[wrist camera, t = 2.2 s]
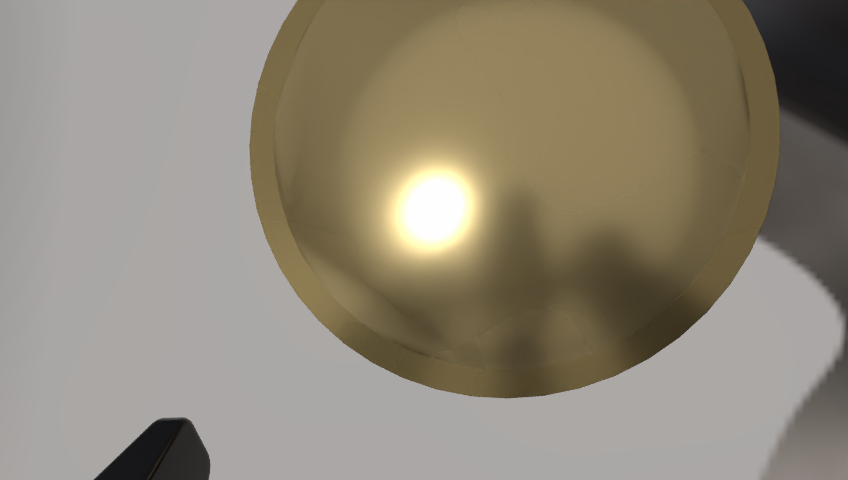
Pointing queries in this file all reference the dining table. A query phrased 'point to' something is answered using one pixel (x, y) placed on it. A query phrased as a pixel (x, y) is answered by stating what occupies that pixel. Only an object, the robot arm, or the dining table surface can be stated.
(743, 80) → the gold tall rounded piece
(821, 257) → the dining table surface
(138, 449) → the robot arm
